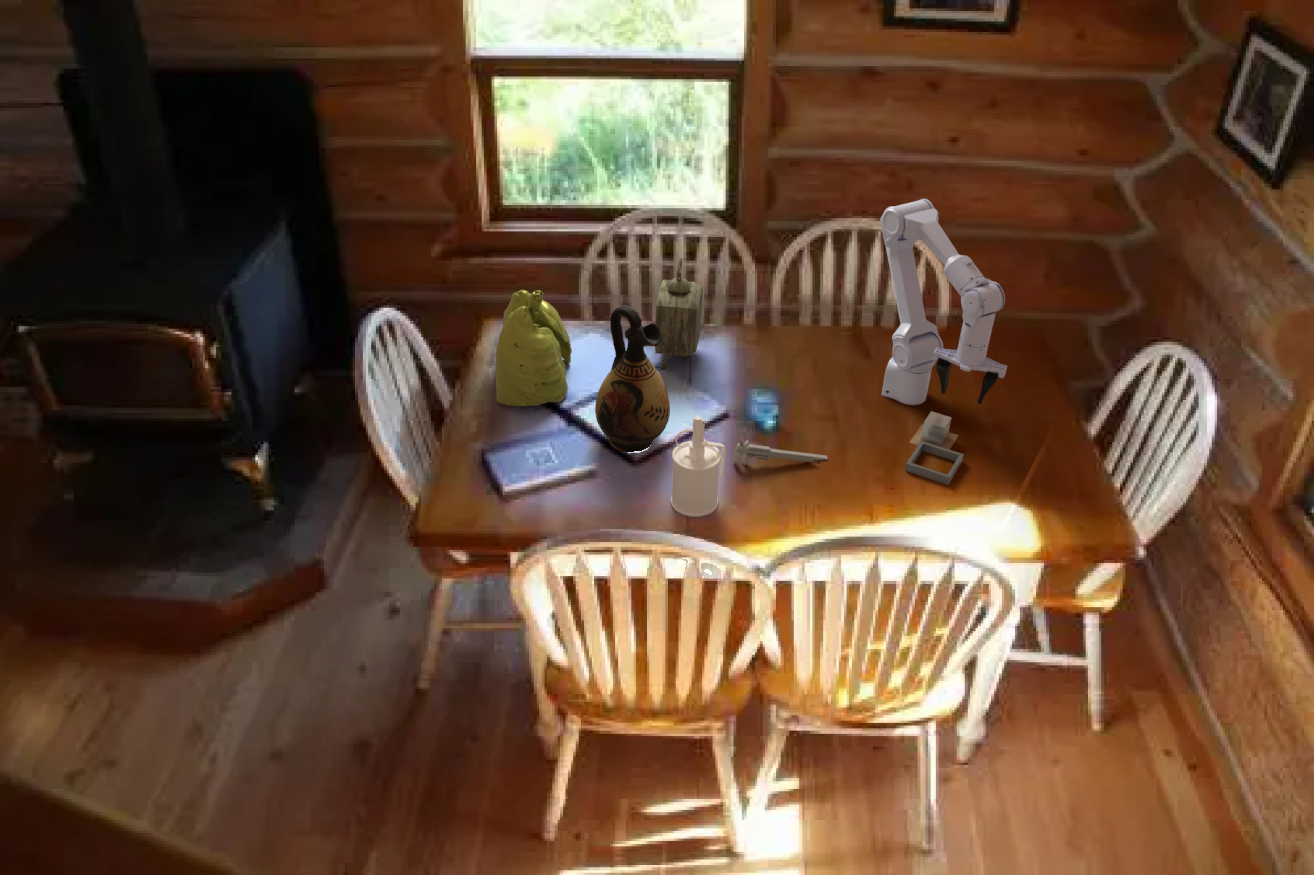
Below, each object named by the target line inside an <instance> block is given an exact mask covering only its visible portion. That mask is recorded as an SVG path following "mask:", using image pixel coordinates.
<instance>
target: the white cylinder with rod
mask: <svg viewBox="0 0 1314 875" xmlns="http://www.w3.org/2000/svg"><path fill="white" fill-rule="evenodd" d="M686 432H692V440H689V441H684V442H682V443H680V444H679V443H678V439H679V437H680V436H681V435H682V434H685V433H686ZM674 443H675V445H676V447H674V449H673V450H672V452H671V459H672V462H673V464H672V489H671V491H672V492H671V496H670V504H671V507H672V508H673V509H674V510H675V511H676V512H677V513H679V514H681V515H683V516H686V517H690V518H691V517H692V518H700V517H705V516H708V515H710V514H712V513H713V512H715V511H716V509H717V508H718V506H719V498H718V490H719V489H718V488H719V475H720V477H721V478H722V479H724V478H725V468H726V467H725V466H726V464H725V463H726V450H727V449H726V446H725V445H724V444H723V443H721V442H712V441H708V440H706V439H705V420H704V419H703V418H701V417H700V415H696V416H695V417H694V418H693V420H692V428H686V429H684V430H682V431H681V432H679V433H678V434H677V435H676V436H675V440H674ZM718 448H721V451H720V450H719V449H718Z"/></svg>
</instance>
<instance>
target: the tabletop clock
mask: <svg viewBox="0 0 1314 875" xmlns="http://www.w3.org/2000/svg"><path fill="white" fill-rule="evenodd" d="M682 267H683V258H682V257H680V258H678V260H677V264H676V273H675V274H676V276H675V277H673V278H672V279H663V280H662V281H661V284H660V287H659V291H658V294H657V300H656V305H655V322H654V323H655V324H656V325H657V327H658V328H659V329H660V332H661V335H662V339H663V340H662V343H661V344H660V345H659V346H654V353H655V354H660V355H666V356H665V358H664V360H663V361H661V362H660V363H659V368H660V369H662V370H665V369H666V368H667V367H668V364H667V362H668V360H669V359H670V357H671V356H672V355H673V356H681V357H683V359H685V360H688V359H690V357H691V355H692V354H696V352H697V351H698V350H697V349H698V346H699V340H700V336H701V331H702V330H701V329H702V316H703V315H702V313H703V294H704V292H703V290H704V289H703V286H702V285H700V284H699V283H697V282H695V281H689V280H687V279H686V278H684V277H682V271H683V268H682Z"/></svg>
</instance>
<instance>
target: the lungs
mask: <svg viewBox="0 0 1314 875" xmlns="http://www.w3.org/2000/svg"><path fill="white" fill-rule="evenodd" d="M543 298H544V292H543V291H541V290H537V289H536V290H534V291H533V292H531V293H530V292H529V291H527V290H526V289H525V290H524V289H520V290H518V291H516V292H514V293H512V295H511V298H510V302H509V304H508V306H507V307H506V309H505V310H504V312H503V318H502V328H501V330H500V332H499V335H498V341H497V345H496V350H495V354H494V355H495V364H494V365H495V370H494V377H495V387H496V395H495V396H496V402H497V404H500V405H506V406H512V407H513V406H514V407H527V406H529V407H531V406H535V407H537V406H539V405H544V404H546V403H559V402H561V401H562V400H564V399H565V398H566V395H567V393H568V384H567V383H568V382H567V374H566V372H567V370H566V363H567V364H571V362H572V356H571V355H572V351H573V350H572V346H571V339H570V336H569V333H568V331H567V329H566V325H565V324H564V322H563V320H562V318H561V316H560V315H559V312H558V311H557V309H555V307H553V305H551V303H549V302H547V301H546V300H544V299H543ZM563 360H564V361H565V362H566V363H565V362H564V361H563Z"/></svg>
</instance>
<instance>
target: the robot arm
mask: <svg viewBox="0 0 1314 875" xmlns="http://www.w3.org/2000/svg"><path fill="white" fill-rule="evenodd" d="M879 222H880V226H881V227H880V228H881V232H882V237H883V241H884V246H885V251H886V255H887V259H888V260H887V261H888V265H889V266H888V267H889V271H890V276H891V280H892V282H891V283H892V286H893V290H894V297H895V302H896V306H897V311H898V312H897V313H898V317H899V321H900V322H899V323H900V325H899V326H898V328H896V329H895V330H896V331H895V332H894V333H893V335H892V336H891V339H892V357H890V359H889V361H888V363H887V365H886V368H885V372H884V376H883V383H882V389H881V396H883V397H886V398H889V399H892V400H896V401H898V402H899V403H901V404H903V405H910V406H916V405H921V404H923V403H924V402H926V400H927V395H928V391H929V390H928V389H929V386H930V381H931V374H932V370H933V369H932V368H933V366H935V371H936V372H937V374H938V378H939V383H940V393H941V394H942V395H944V394H946V392H947V390H948V387H949V379H950V373H951V370H952V367H953V365H955V366H958V367H960V368H959V369H960V370H961V371H964V372H971V371H979V372H984V373H985V375H984V376H983V378H982V384H981V389H980V394H979V397H978V400H977V404H979V405H981V404H983V401H984V399H985V396H986V394H987V393H988V391H990V389H991V388H992V387H993V386H994V384H996V382H997V380H998V378H1000V379H1004V378H1005V376H1006V372H1007V368H1008V365H1005V364H1002V363H1000V362H999V361H995V360H993V359H991V358H989V357H987V352H988V348H989V344H990V339H991V335H992V330H993V327H994V322H995V318H996V312H998V311H1000V310H1001V309H1003V308H1004V306H1005V302H1006V296H1005V292H1004V289H1003V288H1002V286H1001V285H1000V283H998V282H996V281H993V280H991V279H990V278H986V277H985V276H984V274H983V273H982V272H981V271H980V269H979V268H978V267H977V266H976V264H975V263H974V261H973V260H972V259H971V257H969V256H968V255H964V254H963V255H962V254H959V253H958V251H957V249H956V248H955V246H954V245H953V243H952V241H951V240H950V238H949V237H948V236H947V234H946V232H945V231H944V230H943V227H942V226H941V225H940V223H939V211H938V209H936V208H935V207H934V205H933V203H932V202H931V201H930V200H929V199H927V198H921V199H918V200H915V201H911V202H908V203H907V202H906V203H903V204H899V205H895V206H888V207H886V209H885V210H884V211H883V213H882V215H881V217H880V219H879ZM917 241H922V243H924V244H925V246H926V247H927V248H928V249H929V250H930V251H931V253H933V254H934V255H935V256H936V257H937V259H939V261H940V262H941V263H942V264H943V265H944V269H943V275H944V276H945V277H946V279H947V280H948V282H949V283H950V284H951V285H952V287H953V288H954V289H955V291H956V292H957V293H958V294H959V295H960V303H961V308H962V316H961V317H962V320H963V322H962V324H961V326H962V327H961V331H960V336H959V341H958V345H957V349H949V348H948V349H947V348H944V344H943V343H944V342H943V340H942V338H941V336H940V334H939V331H938V327H937V325H936V324H934V323H932V322H930V321H929V320H927V317H926V313H925V308H924V301H923V296H922V291H921V286H920V280H919V276H918V270H917V265H916V259H915V255H914V253H915V252H914V249H913V248H914V245H915V244H916V243H917Z"/></svg>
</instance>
